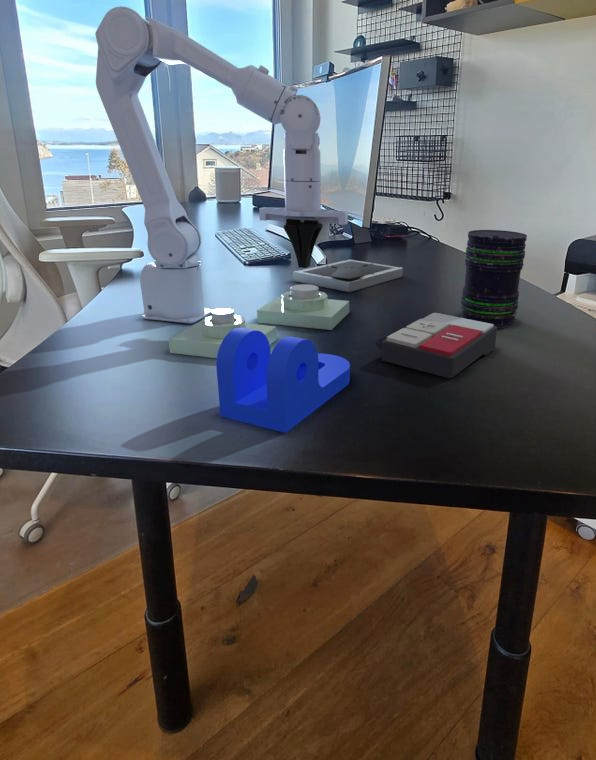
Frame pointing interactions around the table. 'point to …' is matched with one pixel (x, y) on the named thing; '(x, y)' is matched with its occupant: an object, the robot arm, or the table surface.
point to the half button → (222, 316)
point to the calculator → (439, 344)
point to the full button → (304, 291)
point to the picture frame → (347, 275)
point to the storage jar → (492, 276)
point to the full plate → (304, 311)
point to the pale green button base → (211, 336)
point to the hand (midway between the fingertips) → (304, 266)
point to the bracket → (275, 379)
